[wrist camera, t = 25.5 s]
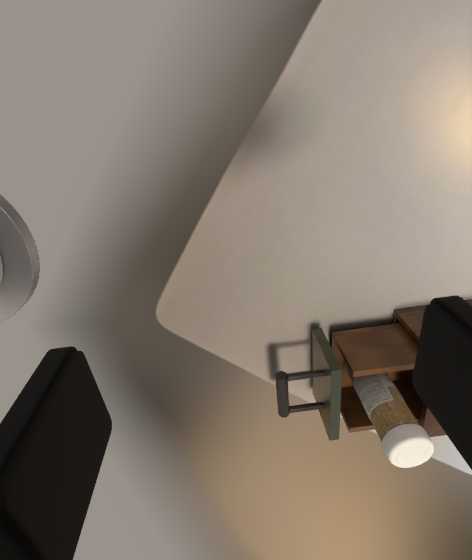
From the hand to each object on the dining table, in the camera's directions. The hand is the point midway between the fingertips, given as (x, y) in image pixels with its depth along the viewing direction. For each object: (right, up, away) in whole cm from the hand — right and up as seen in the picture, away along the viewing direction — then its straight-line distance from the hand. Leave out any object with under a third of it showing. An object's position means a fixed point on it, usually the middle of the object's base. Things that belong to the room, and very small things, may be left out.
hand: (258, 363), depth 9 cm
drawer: (+14, -8, +36) cm, 40 cm away
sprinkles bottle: (+16, -8, +36) cm, 40 cm away
